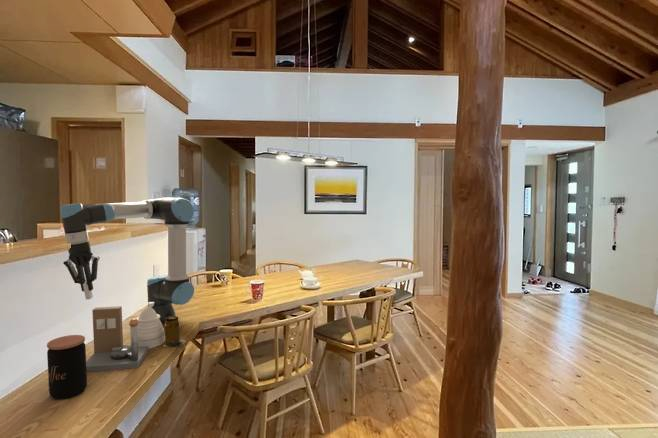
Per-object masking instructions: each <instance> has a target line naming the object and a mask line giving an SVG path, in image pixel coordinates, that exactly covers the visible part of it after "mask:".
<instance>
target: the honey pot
mask: <svg viewBox="0 0 658 438" xmlns="http://www.w3.org/2000/svg"><path fill="white" fill-rule="evenodd" d="M148 305H149V307H148ZM153 306H154V302H149V303H148V302H147V306H146V307H144V308H143V309H142V311H140V313H139V315H138V316H137V317H136V318H135V319H137V320H138V325H137V331H138V347H144V346H149V349H151V348H152V347H153V348H157V347H158V345H159V346H161V345H163V344H164V343H165V327H163V323H161V322H160V320H159V318H160V315H159V314H156V312H155V311H154V309H153V308H151V307H153ZM163 342H164V343H163ZM162 343H163V344H162ZM156 346H157V347H156Z"/></svg>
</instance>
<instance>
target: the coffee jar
mask: <svg viewBox="0 0 658 438" xmlns="http://www.w3.org/2000/svg"><path fill="white" fill-rule="evenodd" d="M85 341H86V337H85V335H82V334H71V335H70V334H69V335H65V336H59V337H56V338H53V339H51V340H50V341H48V342H47V344H46V348H47V351H46V353H47V354H46V356H47V358H46V359H47V376H48V392H49V393H48V394H49V395H50V397H51V398H52V399H54V400H58V401H61V400H68V399H71V398H74V397H77V396H79V395H81V394H82V393H83V392H85V390H86V388H87V386H88V375H87V374H88V372H87V369H86V361H87V354H86V353H87V350H86V349H87V348H86V343H85Z"/></svg>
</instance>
